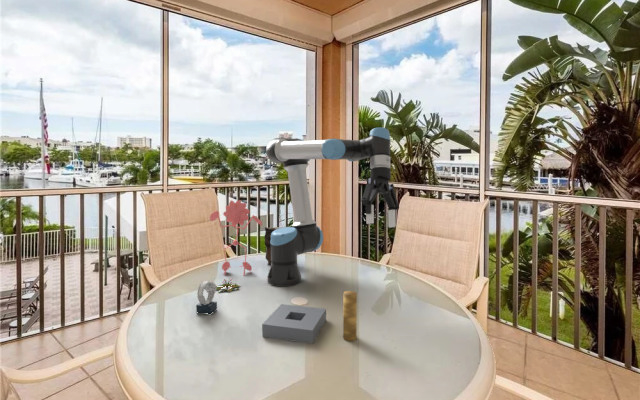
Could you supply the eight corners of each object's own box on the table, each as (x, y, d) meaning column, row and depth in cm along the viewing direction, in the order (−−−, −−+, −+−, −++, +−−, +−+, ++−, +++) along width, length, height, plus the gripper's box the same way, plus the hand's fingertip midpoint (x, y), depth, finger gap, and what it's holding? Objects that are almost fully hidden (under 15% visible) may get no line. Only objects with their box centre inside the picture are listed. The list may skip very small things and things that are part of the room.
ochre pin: (342, 340, 107) (342, 295, 105) (344, 334, 110) (344, 290, 109) (355, 342, 105) (355, 296, 104) (357, 335, 109) (357, 291, 108)
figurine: (261, 276, 166) (259, 201, 163) (207, 275, 168) (204, 201, 165) (268, 267, 182) (266, 198, 179) (218, 266, 183) (216, 199, 180)
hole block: (262, 336, 109) (262, 324, 109) (281, 315, 124) (281, 303, 124) (312, 343, 105) (312, 330, 104) (326, 320, 120) (326, 308, 120)
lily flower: (211, 286, 154) (210, 276, 154) (239, 283, 159) (238, 273, 158) (214, 296, 143) (214, 285, 143) (244, 292, 148) (244, 281, 147)
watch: (219, 307, 131) (218, 278, 130) (207, 317, 123) (206, 286, 122) (206, 306, 132) (204, 277, 131) (193, 315, 124) (192, 284, 123)
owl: (295, 264, 185) (294, 226, 183) (273, 269, 178) (272, 229, 176) (283, 259, 195) (282, 223, 193) (262, 263, 188) (261, 225, 186)
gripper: (368, 159, 122) (368, 220, 118) (407, 173, 139) (408, 227, 135) (351, 163, 127) (351, 222, 123) (390, 176, 144) (392, 229, 140)
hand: (381, 225), depth 129 cm, fingers open, 13 cm apart
